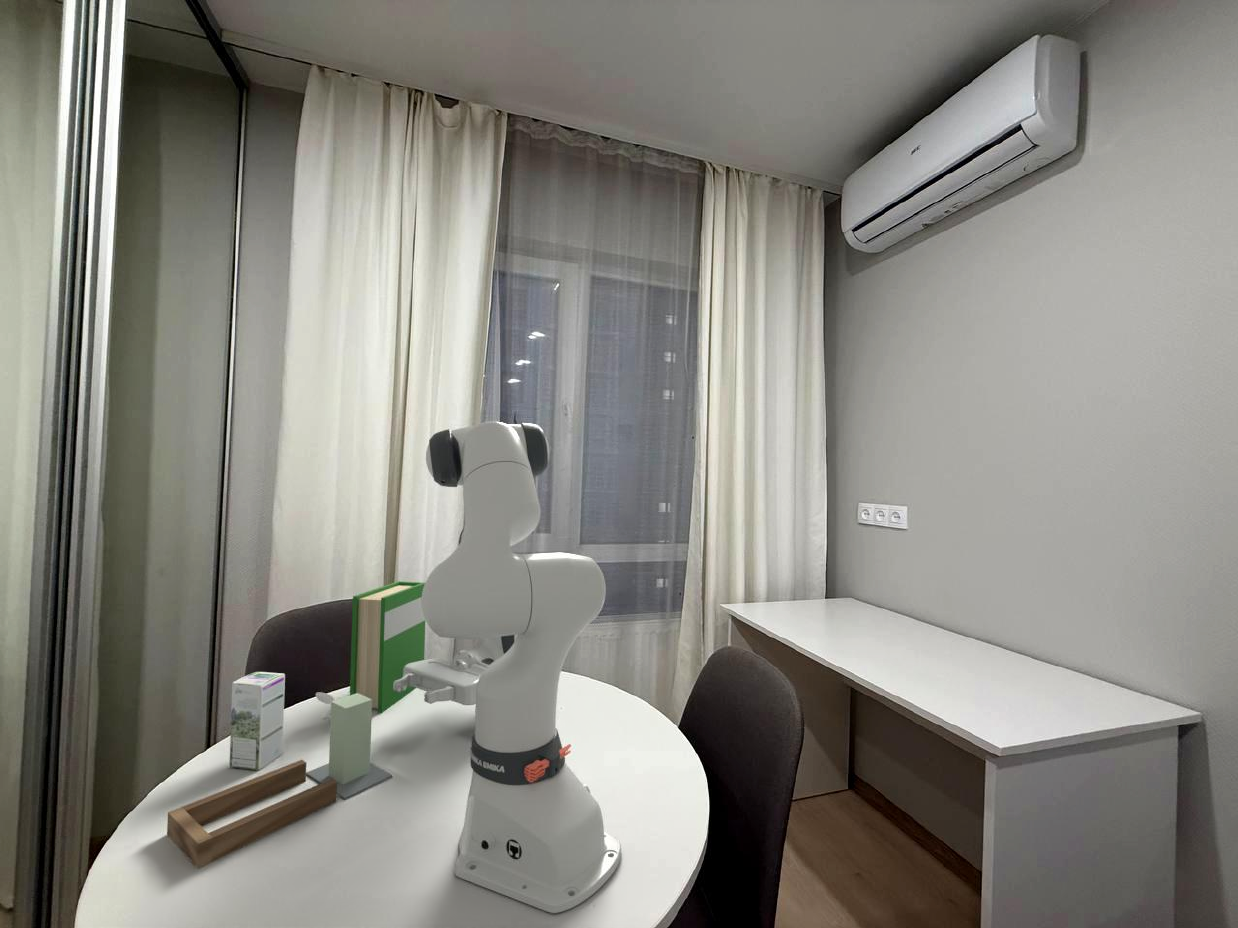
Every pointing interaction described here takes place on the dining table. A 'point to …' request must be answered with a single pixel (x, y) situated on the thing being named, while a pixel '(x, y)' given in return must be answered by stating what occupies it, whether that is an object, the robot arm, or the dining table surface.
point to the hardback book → (386, 640)
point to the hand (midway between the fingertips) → (410, 692)
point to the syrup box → (257, 720)
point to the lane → (252, 827)
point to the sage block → (350, 738)
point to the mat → (354, 785)
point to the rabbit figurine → (325, 699)
